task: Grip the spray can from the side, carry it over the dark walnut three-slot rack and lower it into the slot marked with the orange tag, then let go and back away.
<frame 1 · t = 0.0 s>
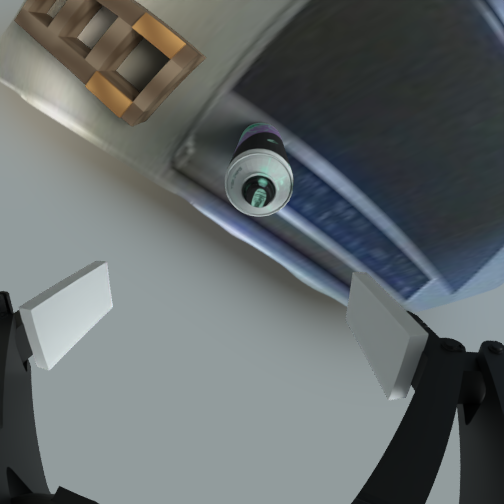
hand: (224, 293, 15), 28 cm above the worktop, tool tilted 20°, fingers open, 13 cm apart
spray can: (260, 141, 37), on the worktop
rack: (104, 29, 27), on the worktop
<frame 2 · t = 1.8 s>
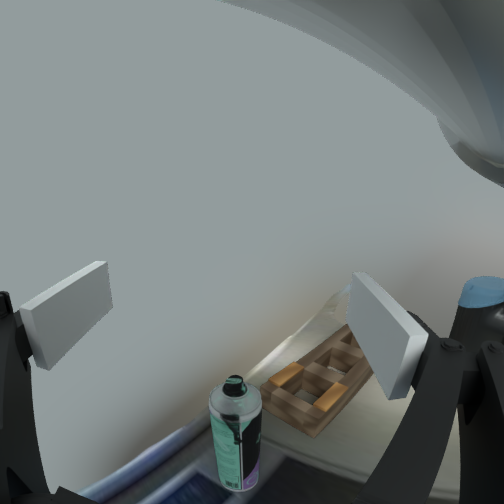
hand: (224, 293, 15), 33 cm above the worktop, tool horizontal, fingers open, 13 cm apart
spray can: (238, 477, 31), on the worktop
rack: (334, 379, 53), on the worktop
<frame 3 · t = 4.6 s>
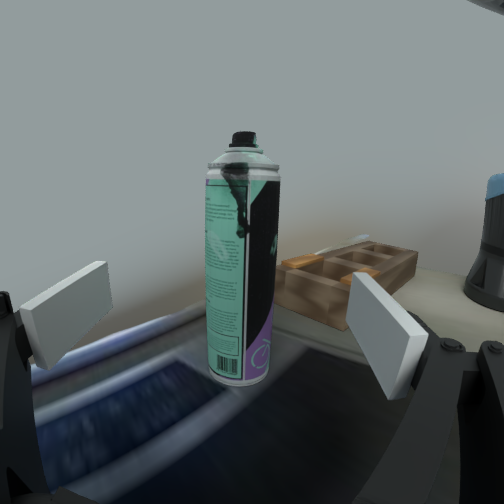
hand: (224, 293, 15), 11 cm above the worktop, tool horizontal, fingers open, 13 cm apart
spray can: (238, 369, 25), on the worktop
rack: (358, 286, 47), on the worktop
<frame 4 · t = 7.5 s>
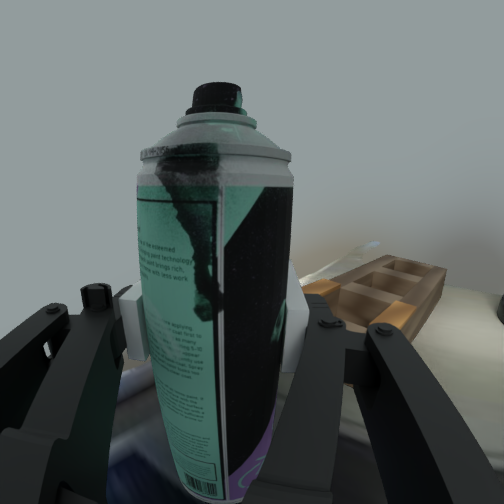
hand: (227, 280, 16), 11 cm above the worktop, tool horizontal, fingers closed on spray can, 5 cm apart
spray can: (222, 472, 14), on the worktop, touching gripper
rack: (380, 317, 36), on the worktop
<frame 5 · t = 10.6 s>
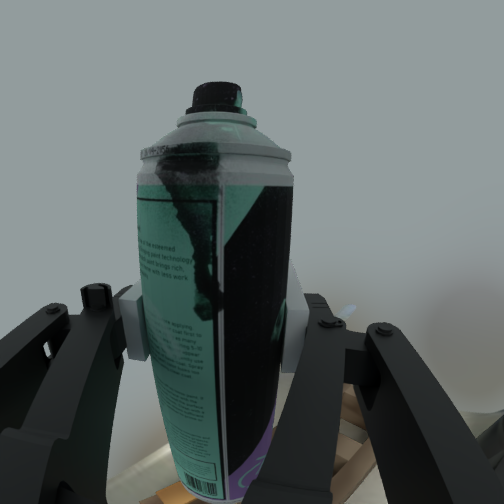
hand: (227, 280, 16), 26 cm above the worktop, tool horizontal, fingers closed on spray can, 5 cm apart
spray can: (222, 472, 14), point 15 cm above the worktop, touching gripper
rack: (295, 485, 24), on the worktop
when the fingers open (12 cm above the worktop, at t = 14.0 s): spray can drops 1 cm, resting in rack.
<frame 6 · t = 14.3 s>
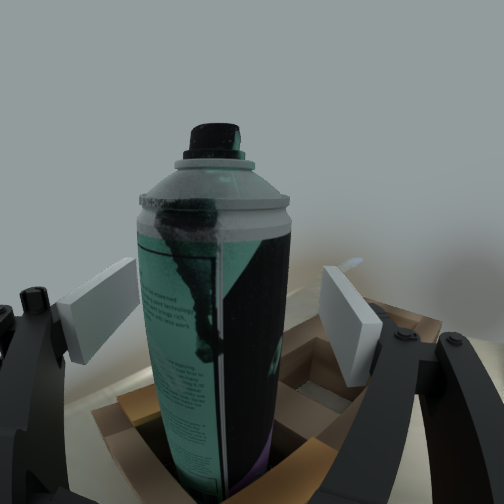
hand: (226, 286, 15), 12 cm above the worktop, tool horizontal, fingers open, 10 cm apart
spray can: (222, 482, 14), resting in rack
rack: (316, 414, 21), on the worktop
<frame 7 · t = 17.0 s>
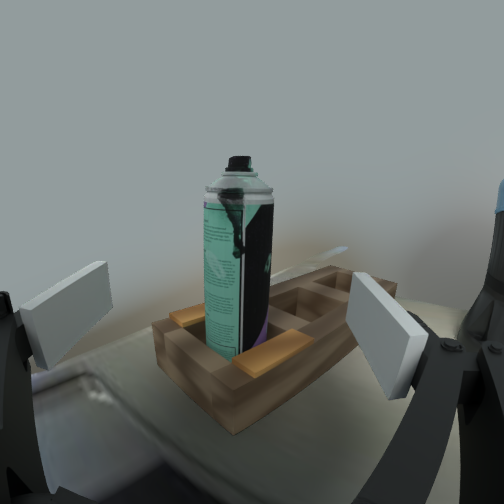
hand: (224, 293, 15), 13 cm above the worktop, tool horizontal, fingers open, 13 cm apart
spray can: (235, 376, 27), resting in rack
rack: (299, 339, 33), on the worktop
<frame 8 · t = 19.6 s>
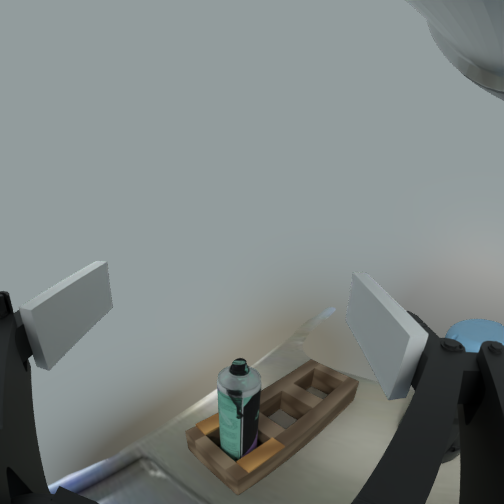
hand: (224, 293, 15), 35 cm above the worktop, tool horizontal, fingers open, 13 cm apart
spray can: (238, 456, 38), resting in rack
rack: (281, 427, 44), on the worktop
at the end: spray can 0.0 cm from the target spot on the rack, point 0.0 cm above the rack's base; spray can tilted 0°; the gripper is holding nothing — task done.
